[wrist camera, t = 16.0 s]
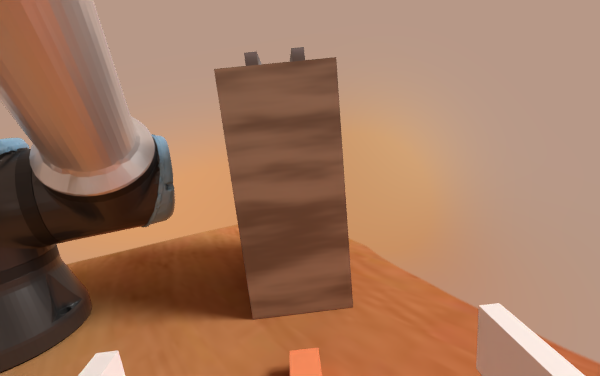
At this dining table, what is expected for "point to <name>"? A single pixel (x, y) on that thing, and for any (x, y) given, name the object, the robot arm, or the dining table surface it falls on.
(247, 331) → the dining table surface
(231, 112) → the stand
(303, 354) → the lever bar
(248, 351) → the dining table surface
